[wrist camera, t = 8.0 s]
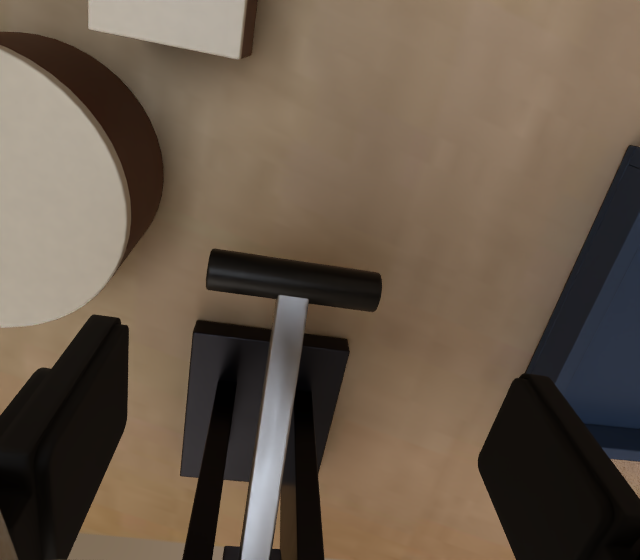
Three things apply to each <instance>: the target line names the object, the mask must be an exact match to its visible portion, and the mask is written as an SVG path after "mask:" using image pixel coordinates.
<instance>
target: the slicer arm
mask: <svg viewBox="0 0 640 560" xmlns="http://www.w3.org/2000/svg"><path fill="white" fill-rule="evenodd" d="M206 288H207V289H208V290H213V291H220V292H228V293H235V294H243V295H250V296H257V297H265V298H272V299H276V302H275V309H274V316H273V323H272V329H271V336H270V343H269V350H268V357H267V364H266V371H265V378H264V384H263V391H262V398H261V405H260V412H259V419H258V426H257V432H256V439H255V446H254V453H253V460H252V467H251V474H250V480H249V487H248V494H247V501H246V508H245V515H244V522H243V529H242V535H241V542H240V547H235V546H225V547H224V553H223V560H281V550H280V549H272V545H273V539H274V532H275V525H276V519H277V512H278V505H279V499H280V492H281V485H282V479H283V472H284V465H285V458H286V452H287V445H288V438H289V432H290V425H291V418H292V412H293V405H294V398H295V391H296V385H297V378H298V371H299V365H300V358H301V351H302V345H303V338H304V331H305V324H306V318H307V311H308V304H317V305H324V306H331V307H339V308H346V309H353V310H361V311H368V312H374V311H376V309H377V307H378V305H379V302H380V298H381V292H382V279H381V275H380V274H379V273H376V272H370V271H363V270H356V269H349V268H343V267H336V266H329V265H322V264H315V263H309V262H302V261H295V260H288V259H281V258H275V257H268V256H261V255H254V254H248V253H241V252H234V251H227V250H220V249H212V251H211V253H210V257H209V262H208V269H207V277H206Z"/></svg>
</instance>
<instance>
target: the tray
mask: <svg viewBox="0 0 640 560" xmlns="http://www.w3.org/2000/svg"><path fill="white" fill-rule="evenodd" d="M526 373H527V374H535V375H542V376H547V377H549V378H550V379H551V380H552V381H553V382H554V384H555V385H556V387H557V388H558V389H559V391H560V392H561V393H562V395H563V396H564V397H565V399H566V400H567V401H568V403H569V404H570V405H571V407H572V408H573V410H574V411H575V412H576V414H577V415H578V416H579V418H580V419H581V420H582V422H583V423H584V424H585V426H586V427H587V428H588V430H589V431H590V433H591V434H592V435H593V437H594V438H595V439H596V441H597V442H598V443H599V445H600V446H601V447H602V449H603V450H604V451H605V453H606V454H607V456H608V457H609V458H610V459H618V460H628V461H638V462H640V147H637V146H632V145H630V146H629V147H628V149H627V152H626V154H625V156H624V158H623V160H622V163H621V165H620V167H619V169H618V171H617V174H616V176H615V178H614V180H613V182H612V185H611V187H610V189H609V191H608V193H607V196H606V198H605V200H604V202H603V204H602V206H601V209H600V211H599V213H598V215H597V217H596V220H595V222H594V224H593V226H592V228H591V231H590V233H589V235H588V237H587V239H586V242H585V244H584V246H583V248H582V250H581V253H580V255H579V257H578V259H577V261H576V264H575V266H574V268H573V270H572V272H571V275H570V277H569V279H568V281H567V283H566V286H565V288H564V290H563V292H562V294H561V296H560V299H559V301H558V303H557V305H556V307H555V310H554V312H553V314H552V316H551V318H550V321H549V323H548V325H547V327H546V329H545V332H544V334H543V336H542V338H541V340H540V343H539V345H538V347H537V349H536V351H535V354H534V356H533V358H532V360H531V362H530V365H529V367H528V369H527V371H526Z"/></svg>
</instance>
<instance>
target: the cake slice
mask: <svg viewBox="0 0 640 560" xmlns="http://www.w3.org/2000/svg"><path fill="white" fill-rule="evenodd" d="M257 2H258V0H88V28H89V29H90V30H93V31H98V32H103V33H108V34H113V35H118V36H123V37H128V38H133V39H138V40H143V41H148V42H153V43H158V44H163V45H168V46H172V47H177V48H182V49H187V50H192V51H197V52H202V53H207V54H212V55H217V56H222V57H227V58H232V59H237V60H239V59H242V58H244V57H247V56H250V55H251V53H252V44H253V36H254V27H255V19H256V10H257Z"/></svg>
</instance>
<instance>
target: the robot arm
mask: <svg viewBox="0 0 640 560" xmlns="http://www.w3.org/2000/svg"><path fill="white" fill-rule="evenodd" d="M128 345H129V328H128V326H127V325H121V321H120V319H119V318H116V317H109V316H101V315H92V316H91V317H90V318H89V319H88V320H87V322H86V323H85V325H84V326H83V327H82V329H81V330H80V331H79V333H78V334H77V335H76V337H75V338H74V339H73V341H72V342H71V343H70V345H69V346H68V347H67V349H66V350H65V351H64V353H63V354H62V355H61V357H60V358H59V359H58V361H57V362H56V363H55V365H54V366H53V367H52V369H49V368H40V369H38V370H37V371H36V372H35V373H34V374H33V375H32V376H31V377H30V379H29V380H28V381H27V382H26V384H25V385H24V386H23V388H22V389H21V390H20V391H19V393H18V394H17V395H16V396H15V398H14V399H13V400H12V402H11V403H10V404H9V405H8V407H7V408H6V409H5V410H4V412H3V413H2V414H1V415H0V560H67V558H68V556H69V553H70V551H71V549H72V547H73V544H74V542H75V540H76V538H77V535H78V533H79V531H80V529H81V526H82V524H83V522H84V520H85V517H86V515H87V513H88V511H89V508H90V506H91V504H92V502H93V499H94V497H95V495H96V493H97V490H98V488H99V486H100V484H101V481H102V479H103V477H104V475H105V472H106V470H107V468H108V466H109V463H110V461H111V459H112V457H113V454H114V452H115V450H116V448H117V445H118V443H119V441H120V439H121V436H122V434H123V432H124V429H125V425H126V421H127V401H128ZM478 468H479V472H480V474H481V477H482V479H483V481H484V484H485V486H486V489H487V491H488V493H489V496H490V498H491V501H492V503H493V505H494V508H495V510H496V513H497V515H498V517H499V520H500V522H501V525H502V527H503V529H504V532H505V534H506V537H507V539H508V541H509V544H510V546H511V549H512V551H513V553H514V556H515V558H516V560H640V499H639V498H638V496H637V495H636V493H635V492H634V491H633V489H632V488H631V487H630V485H629V484H628V483H627V481H626V480H625V479H624V477H623V476H622V475H621V473H620V472H619V470H618V469H617V468H616V466H615V465H614V464H613V462H612V461H611V460H610V458H609V457H608V456H607V454H606V453H605V451H604V450H603V449H602V447H601V446H600V445H599V443H598V442H597V441H596V439H595V438H594V437H593V435H592V434H591V433H590V431H589V430H588V428H587V427H586V426H585V424H584V423H583V422H582V420H581V419H580V418H579V416H578V415H577V414H576V412H575V411H574V410H573V408H572V407H571V405H570V404H569V403H568V401H567V400H566V399H565V397H564V396H563V395H562V393H561V392H560V391H559V389H558V388H557V387H556V385H555V384H554V382H553V381H552V380H551V379H550V378H549V377H547V376H542V375H535V374H527V373H525V374H522V375H521V376H520V377H519V378H516V379H514V380H513V382H512V384H511V386H510V388H509V390H508V393H507V395H506V397H505V399H504V401H503V404H502V406H501V408H500V410H499V412H498V415H497V417H496V419H495V421H494V423H493V426H492V428H491V430H490V432H489V434H488V436H487V439H486V441H485V443H484V445H483V447H482V450H481V452H480V454H479V457H478Z"/></svg>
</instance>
